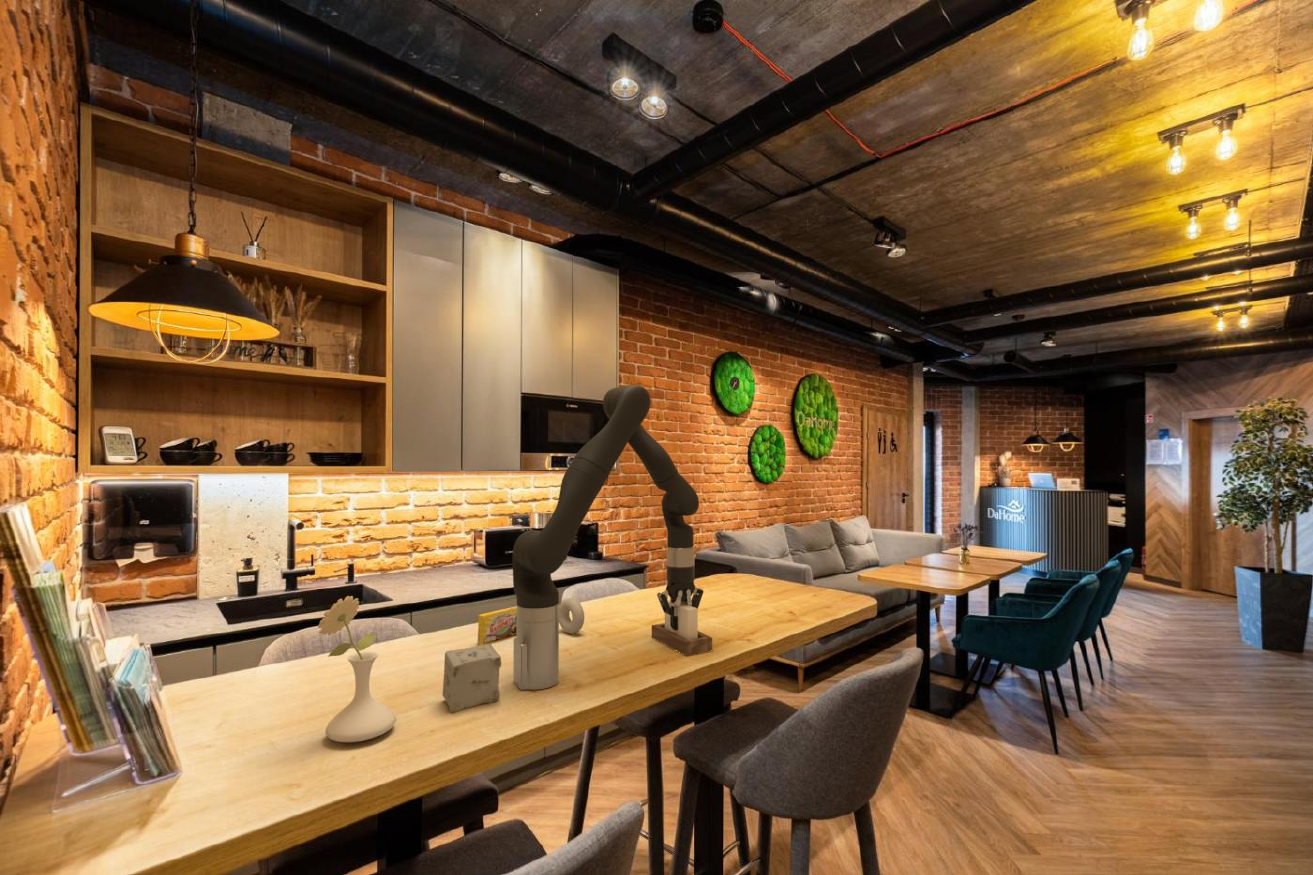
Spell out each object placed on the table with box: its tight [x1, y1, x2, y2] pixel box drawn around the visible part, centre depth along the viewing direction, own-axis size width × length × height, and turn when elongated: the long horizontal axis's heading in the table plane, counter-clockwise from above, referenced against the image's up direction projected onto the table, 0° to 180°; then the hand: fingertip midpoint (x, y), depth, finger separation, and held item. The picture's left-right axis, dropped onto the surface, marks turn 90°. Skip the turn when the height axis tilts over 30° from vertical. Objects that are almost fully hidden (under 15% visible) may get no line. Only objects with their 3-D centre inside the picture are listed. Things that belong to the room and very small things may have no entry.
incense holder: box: [442, 644, 502, 714], centre depth 120 cm, size 10×8×10 cm
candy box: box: [476, 605, 517, 646], centre depth 163 cm, size 16×2×8 cm, turn 143°
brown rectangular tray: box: [651, 622, 713, 657], centre depth 158 cm, size 8×18×4 cm, turn 29°
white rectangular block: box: [664, 599, 699, 640], centre depth 158 cm, size 3×12×9 cm, turn 29°
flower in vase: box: [317, 595, 397, 743], centre depth 106 cm, size 13×11×25 cm
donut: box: [559, 597, 585, 635], centre depth 168 cm, size 10×4×10 cm, turn 47°
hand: (680, 628), depth 158 cm, fingers closed on white rectangular block, 3 cm apart
